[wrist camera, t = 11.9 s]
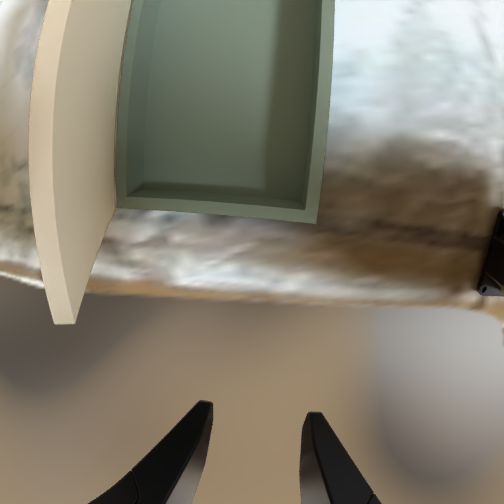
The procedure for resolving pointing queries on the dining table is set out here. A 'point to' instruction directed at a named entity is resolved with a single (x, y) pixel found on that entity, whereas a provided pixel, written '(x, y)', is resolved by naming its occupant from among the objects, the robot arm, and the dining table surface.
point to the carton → (225, 107)
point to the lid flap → (74, 142)
